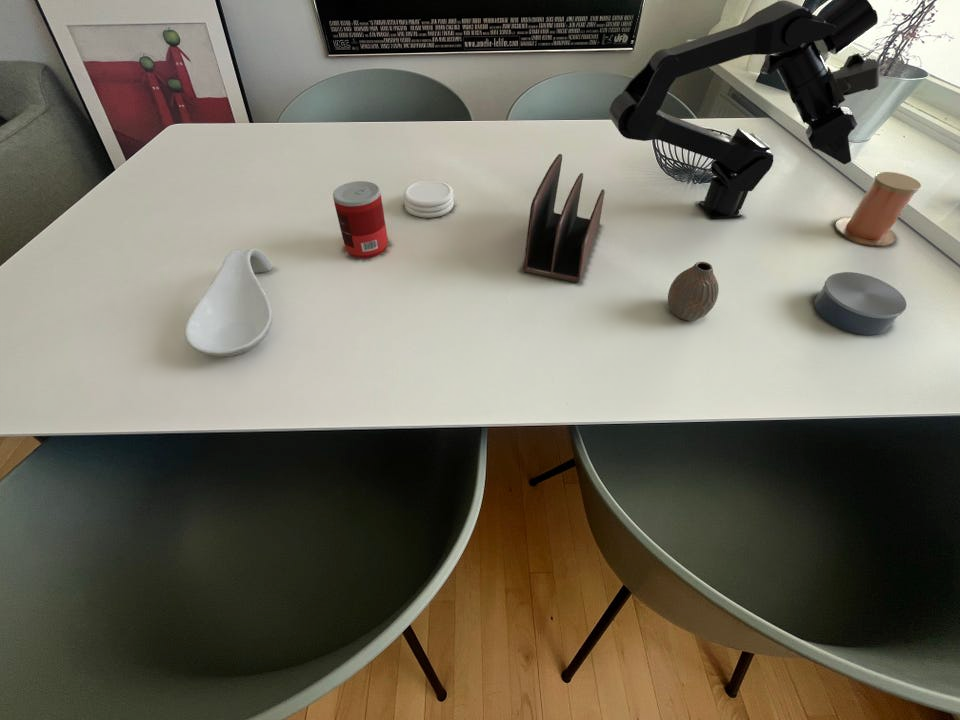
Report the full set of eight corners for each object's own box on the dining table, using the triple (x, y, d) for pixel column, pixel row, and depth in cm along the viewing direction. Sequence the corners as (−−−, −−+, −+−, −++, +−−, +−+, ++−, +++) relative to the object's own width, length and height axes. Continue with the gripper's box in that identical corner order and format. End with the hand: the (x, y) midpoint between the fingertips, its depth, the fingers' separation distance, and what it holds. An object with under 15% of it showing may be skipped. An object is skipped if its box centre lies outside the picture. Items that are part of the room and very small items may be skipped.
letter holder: (522, 272, 83) (528, 196, 73) (549, 217, 96) (558, 146, 86) (579, 284, 81) (593, 207, 71) (599, 226, 94) (614, 153, 84)
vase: (710, 329, 73) (733, 283, 67) (664, 323, 74) (681, 277, 68) (705, 301, 78) (725, 255, 71) (661, 296, 79) (677, 250, 72)
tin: (840, 338, 72) (855, 318, 69) (799, 294, 79) (811, 274, 76) (906, 333, 73) (924, 313, 70) (859, 289, 80) (874, 269, 77)
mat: (856, 248, 89) (858, 246, 88) (824, 220, 96) (825, 218, 95) (906, 245, 89) (908, 243, 89) (870, 217, 96) (871, 216, 96)
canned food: (396, 241, 90) (388, 185, 82) (372, 264, 85) (361, 206, 77) (362, 232, 92) (351, 177, 84) (337, 253, 87) (322, 197, 79)
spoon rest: (273, 364, 68) (256, 326, 63) (186, 373, 66) (161, 336, 61) (292, 267, 84) (280, 231, 79) (222, 273, 83) (205, 237, 78)
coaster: (396, 213, 97) (394, 197, 95) (418, 191, 104) (417, 175, 101) (441, 223, 94) (440, 206, 92) (461, 200, 101) (460, 184, 98)
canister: (886, 244, 89) (922, 193, 82) (844, 234, 91) (876, 184, 84) (885, 226, 93) (919, 177, 86) (845, 218, 95) (875, 168, 88)
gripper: (877, 55, 69) (915, 143, 74) (851, 26, 81) (885, 103, 87) (791, 108, 76) (831, 184, 82) (779, 74, 88) (815, 142, 94)
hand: (842, 151), depth 86 cm, fingers open, 9 cm apart
